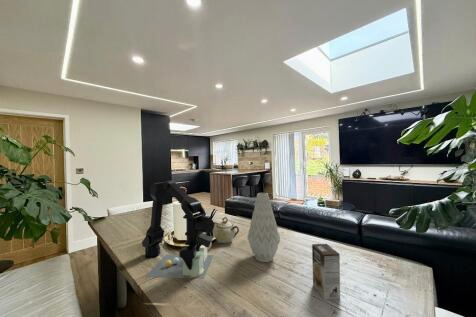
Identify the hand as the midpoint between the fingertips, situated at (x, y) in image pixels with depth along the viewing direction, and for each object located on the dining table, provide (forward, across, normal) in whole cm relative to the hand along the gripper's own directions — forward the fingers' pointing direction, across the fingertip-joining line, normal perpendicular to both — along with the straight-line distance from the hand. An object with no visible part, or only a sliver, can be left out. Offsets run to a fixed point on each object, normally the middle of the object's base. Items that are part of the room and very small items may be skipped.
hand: (193, 264), depth 90 cm
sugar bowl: (+4, +36, -9) cm, 37 cm away
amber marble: (+3, +4, +13) cm, 14 cm away
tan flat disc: (+3, 0, 0) cm, 3 cm away
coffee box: (+4, -10, -54) cm, 55 cm away
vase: (+4, +15, -32) cm, 36 cm away
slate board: (+4, +6, +7) cm, 10 cm away
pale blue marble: (+3, +6, +11) cm, 13 cm away
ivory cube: (+3, +12, +1) cm, 13 cm away
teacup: (+4, +24, +2) cm, 24 cm away
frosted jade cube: (+3, 0, 0) cm, 3 cm away
